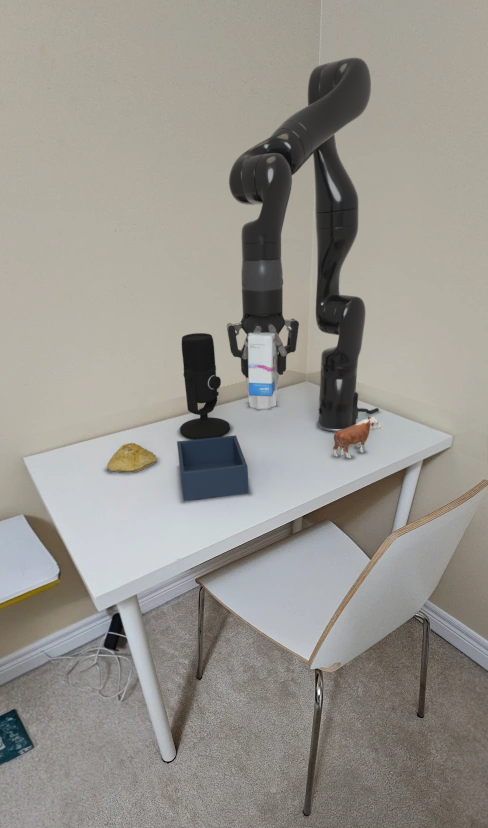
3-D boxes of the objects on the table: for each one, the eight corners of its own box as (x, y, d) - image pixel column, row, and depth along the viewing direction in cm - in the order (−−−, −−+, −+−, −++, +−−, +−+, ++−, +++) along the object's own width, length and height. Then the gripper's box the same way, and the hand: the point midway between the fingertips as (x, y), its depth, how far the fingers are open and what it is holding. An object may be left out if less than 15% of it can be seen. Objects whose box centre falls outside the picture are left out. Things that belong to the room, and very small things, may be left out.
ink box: (273, 397, 93) (272, 335, 87) (248, 396, 94) (245, 335, 88) (279, 383, 101) (279, 325, 95) (256, 382, 102) (254, 325, 96)
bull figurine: (381, 448, 116) (385, 417, 112) (338, 463, 110) (340, 430, 106) (369, 442, 119) (372, 412, 115) (326, 456, 114) (328, 424, 110)
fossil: (122, 452, 105) (100, 440, 111) (121, 478, 107) (99, 465, 113) (164, 448, 113) (141, 437, 119) (162, 472, 115) (139, 460, 121)
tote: (237, 460, 113) (236, 435, 110) (248, 493, 100) (247, 465, 97) (180, 466, 112) (176, 441, 108) (183, 501, 98) (180, 473, 95)
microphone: (210, 444, 122) (202, 345, 109) (169, 434, 128) (157, 339, 116) (239, 425, 132) (235, 333, 119) (200, 417, 138) (192, 328, 125)
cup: (285, 403, 145) (285, 371, 140) (263, 413, 139) (262, 380, 134) (261, 396, 151) (260, 365, 146) (239, 405, 145) (237, 373, 140)
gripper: (294, 281, 92) (293, 367, 100) (220, 285, 90) (225, 373, 98) (305, 286, 85) (303, 377, 94) (226, 291, 83) (231, 384, 92)
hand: (263, 375), depth 96 cm, fingers closed on ink box, 6 cm apart
